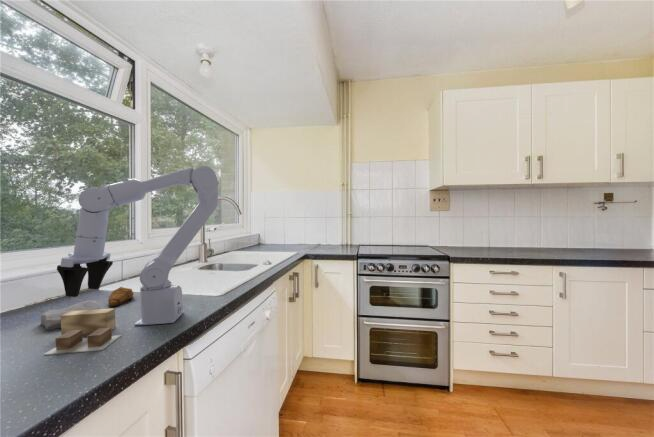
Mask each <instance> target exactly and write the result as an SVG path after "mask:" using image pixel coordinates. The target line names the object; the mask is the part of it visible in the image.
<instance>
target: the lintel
mask: <svg viewBox="0 0 654 437" xmlns="http://www.w3.org/2000/svg"><path fill="white" fill-rule="evenodd" d="M116 327H117V326H116V308H115V307H111V308H100V309H96V310H80V311H70V312H68V313H65V314H63V315H61V328H60V329H61V331H60V332H61V335H63V334H65V333H66V332H68V331H71V330H82V335H90V334H91V333H93V332H94V331H96V330H98V329H99V328H111V331H112V330H113V329H115V328H116Z"/></svg>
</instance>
